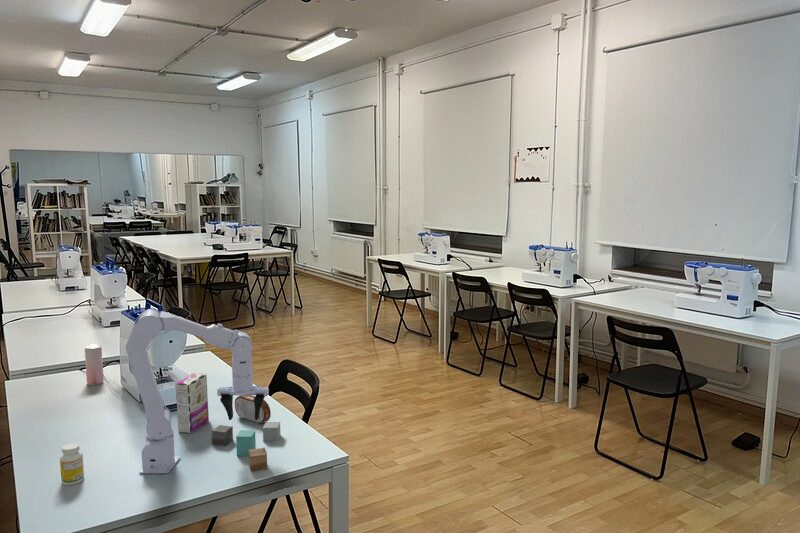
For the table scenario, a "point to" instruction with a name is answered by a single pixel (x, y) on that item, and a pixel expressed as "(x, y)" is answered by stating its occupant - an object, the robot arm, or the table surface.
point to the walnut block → (257, 459)
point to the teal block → (245, 442)
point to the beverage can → (94, 364)
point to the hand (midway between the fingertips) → (244, 418)
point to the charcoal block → (222, 435)
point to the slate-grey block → (271, 431)
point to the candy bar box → (192, 402)
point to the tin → (251, 409)
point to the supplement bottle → (71, 464)
